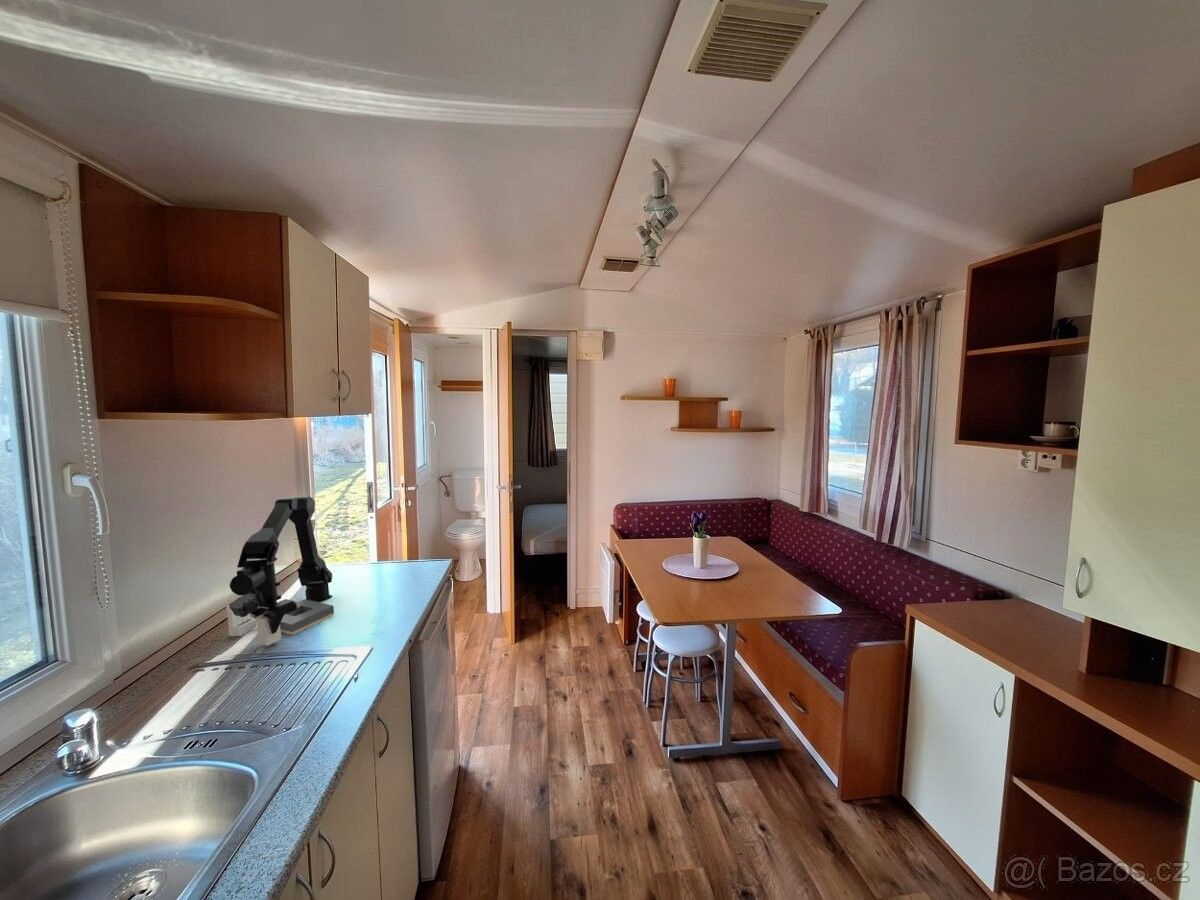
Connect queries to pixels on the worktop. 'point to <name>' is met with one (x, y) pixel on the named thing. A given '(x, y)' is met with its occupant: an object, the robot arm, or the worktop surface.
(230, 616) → the white wedge bracket
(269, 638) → the plug
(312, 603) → the socket
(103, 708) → the worktop surface
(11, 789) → the worktop surface
